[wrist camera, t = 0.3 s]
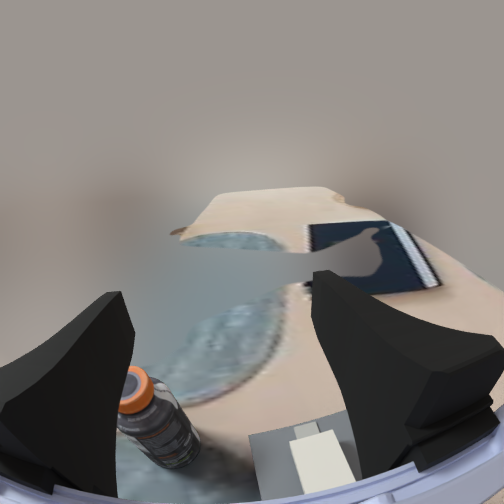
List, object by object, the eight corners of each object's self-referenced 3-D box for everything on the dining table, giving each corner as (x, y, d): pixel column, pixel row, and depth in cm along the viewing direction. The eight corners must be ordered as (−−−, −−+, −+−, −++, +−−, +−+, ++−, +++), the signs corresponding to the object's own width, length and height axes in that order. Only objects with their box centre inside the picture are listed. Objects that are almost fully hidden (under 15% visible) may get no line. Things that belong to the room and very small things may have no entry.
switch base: (485, 474, 14) (504, 460, 13) (280, 565, 13) (276, 566, 11) (432, 386, 26) (442, 366, 24) (253, 447, 24) (247, 432, 22)
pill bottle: (199, 419, 28) (162, 351, 22) (203, 467, 23) (158, 412, 17) (148, 424, 27) (99, 358, 22) (146, 470, 22) (85, 415, 17)
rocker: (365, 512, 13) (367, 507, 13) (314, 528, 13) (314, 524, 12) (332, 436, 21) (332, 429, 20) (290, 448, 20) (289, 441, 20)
